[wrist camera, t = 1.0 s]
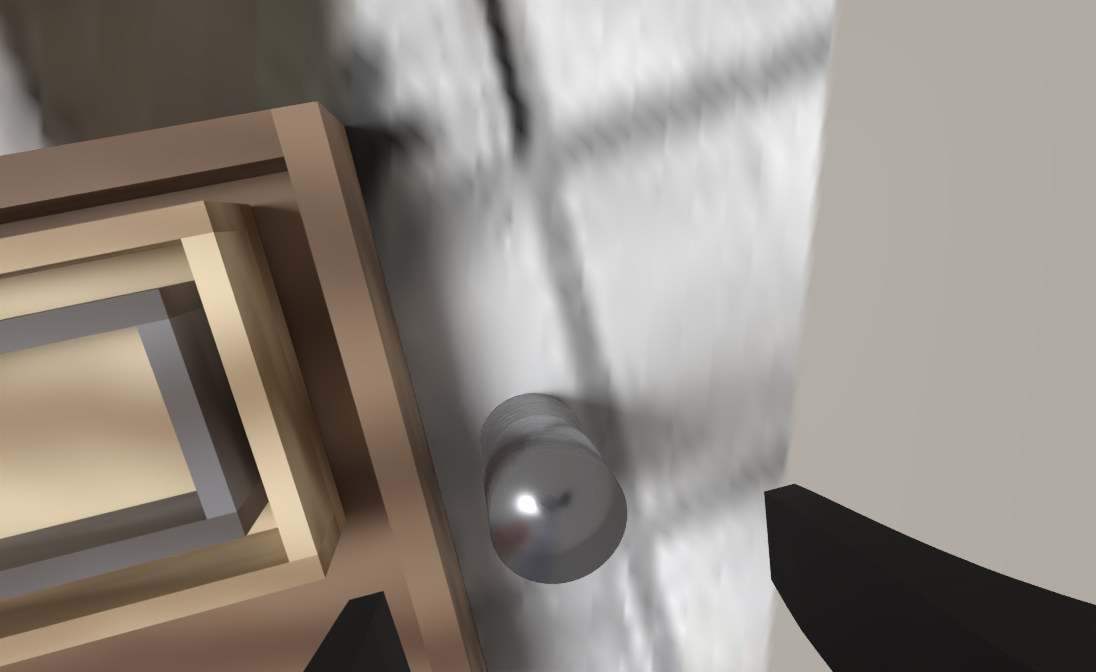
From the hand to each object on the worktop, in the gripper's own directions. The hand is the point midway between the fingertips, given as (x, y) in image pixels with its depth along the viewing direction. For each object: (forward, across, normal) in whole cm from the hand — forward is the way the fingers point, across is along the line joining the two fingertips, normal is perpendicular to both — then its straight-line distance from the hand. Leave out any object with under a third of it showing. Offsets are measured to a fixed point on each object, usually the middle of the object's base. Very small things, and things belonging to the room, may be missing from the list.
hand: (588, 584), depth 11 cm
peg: (+12, 0, +3) cm, 12 cm away
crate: (+10, +15, -2) cm, 18 cm away
